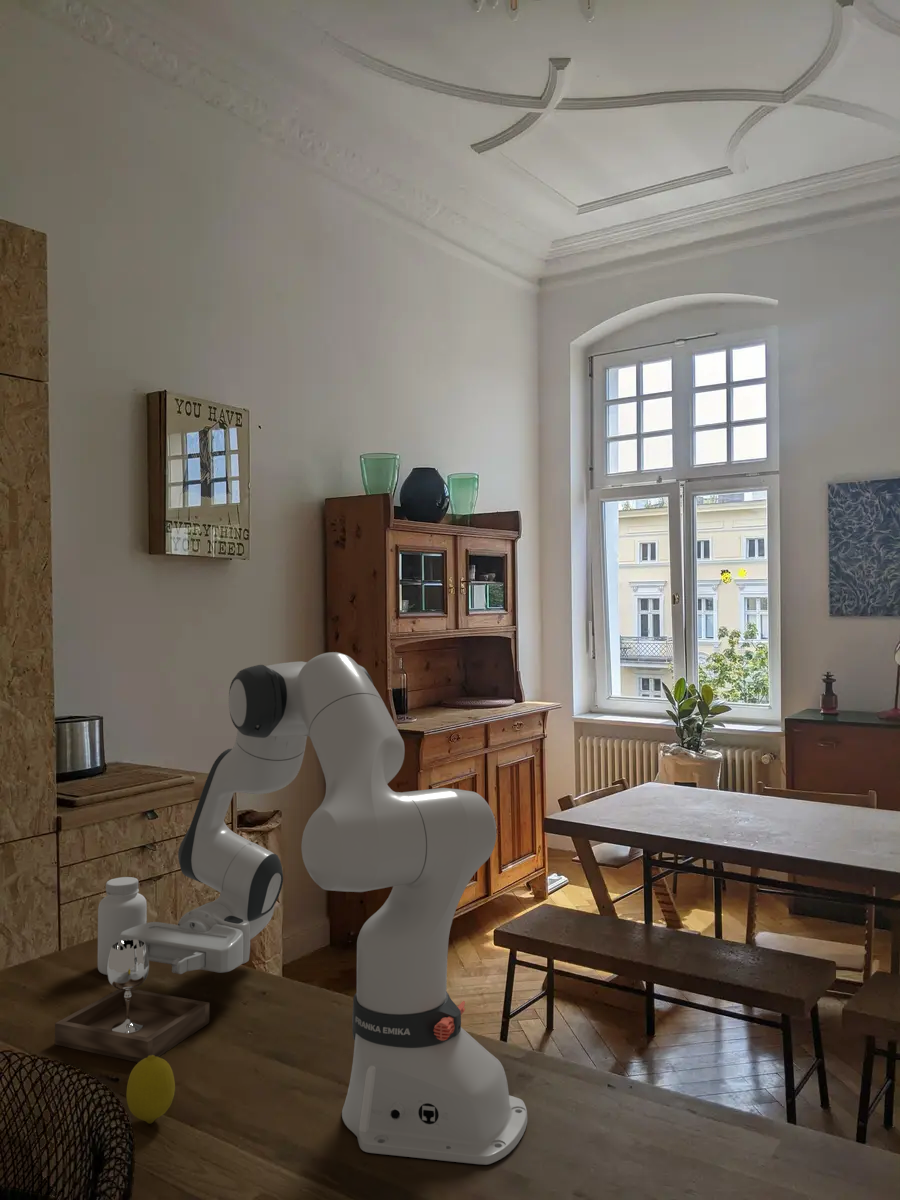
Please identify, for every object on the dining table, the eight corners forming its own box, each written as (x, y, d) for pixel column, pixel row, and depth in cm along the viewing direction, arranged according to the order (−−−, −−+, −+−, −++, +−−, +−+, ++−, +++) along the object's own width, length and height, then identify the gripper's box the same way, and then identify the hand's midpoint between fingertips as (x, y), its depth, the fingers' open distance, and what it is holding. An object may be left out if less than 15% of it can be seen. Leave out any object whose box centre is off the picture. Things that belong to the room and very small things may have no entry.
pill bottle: (87, 975, 159) (89, 885, 160) (112, 958, 167) (113, 873, 167) (131, 978, 158) (132, 888, 158) (154, 961, 166) (155, 875, 166)
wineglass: (156, 1025, 139) (157, 942, 139) (124, 1039, 134) (125, 954, 134) (130, 1016, 142) (131, 935, 142) (97, 1030, 137) (98, 946, 137)
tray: (209, 1023, 141) (209, 1002, 141) (147, 1064, 128) (147, 1041, 128) (122, 1006, 146) (122, 987, 147) (54, 1044, 133) (55, 1023, 133)
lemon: (157, 1106, 117) (157, 1040, 117) (183, 1121, 113) (184, 1054, 113) (116, 1124, 113) (117, 1056, 113) (143, 1140, 109) (143, 1071, 109)
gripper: (152, 907, 157) (93, 933, 144) (258, 922, 150) (206, 951, 137) (151, 945, 157) (92, 975, 144) (257, 962, 150) (205, 995, 137)
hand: (149, 963), depth 141 cm, fingers open, 8 cm apart
